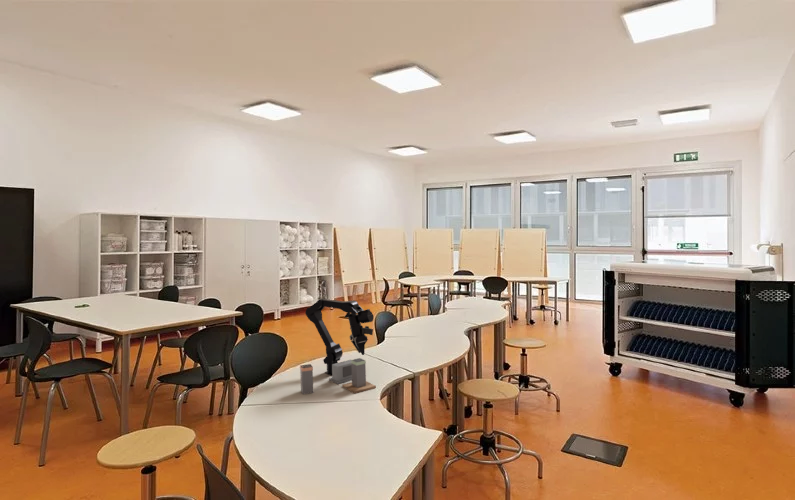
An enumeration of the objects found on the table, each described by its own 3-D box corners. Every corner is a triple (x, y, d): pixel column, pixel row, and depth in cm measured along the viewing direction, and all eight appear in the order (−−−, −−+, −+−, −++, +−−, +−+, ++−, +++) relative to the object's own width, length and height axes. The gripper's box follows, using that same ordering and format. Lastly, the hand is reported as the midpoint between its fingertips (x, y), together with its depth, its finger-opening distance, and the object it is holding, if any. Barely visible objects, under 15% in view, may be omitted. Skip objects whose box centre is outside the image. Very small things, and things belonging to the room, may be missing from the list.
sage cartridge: (351, 384, 218) (351, 360, 217) (360, 382, 221) (360, 358, 220) (357, 387, 213) (356, 362, 213) (366, 385, 217) (365, 360, 216)
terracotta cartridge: (300, 390, 214) (299, 365, 213) (311, 389, 216) (310, 364, 215) (302, 394, 209) (301, 368, 209) (313, 392, 211) (312, 367, 210)
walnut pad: (342, 386, 219) (342, 384, 218) (363, 381, 226) (363, 379, 225) (354, 393, 209) (354, 391, 209) (375, 387, 216) (375, 385, 216)
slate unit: (329, 380, 228) (328, 364, 228) (351, 374, 237) (350, 358, 237) (337, 384, 222) (337, 367, 222) (360, 377, 231) (359, 361, 231)
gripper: (373, 321, 226) (380, 351, 225) (366, 320, 243) (372, 347, 243) (352, 327, 222) (359, 357, 222) (346, 325, 240) (352, 353, 240)
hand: (361, 353), depth 232 cm, fingers open, 9 cm apart
